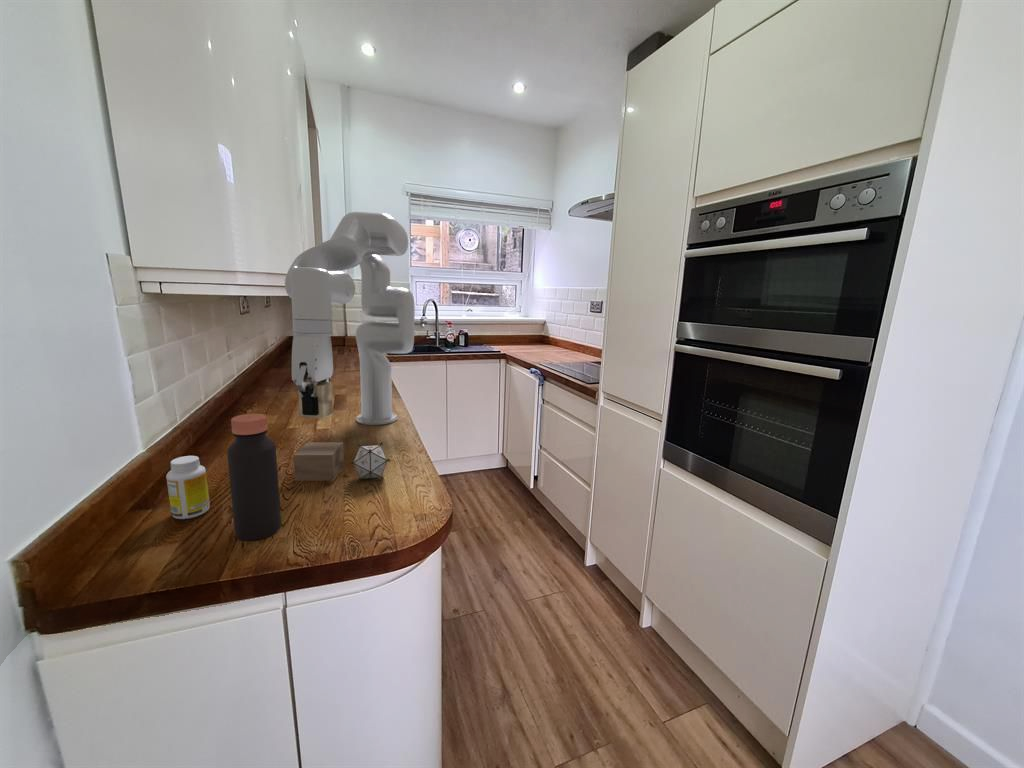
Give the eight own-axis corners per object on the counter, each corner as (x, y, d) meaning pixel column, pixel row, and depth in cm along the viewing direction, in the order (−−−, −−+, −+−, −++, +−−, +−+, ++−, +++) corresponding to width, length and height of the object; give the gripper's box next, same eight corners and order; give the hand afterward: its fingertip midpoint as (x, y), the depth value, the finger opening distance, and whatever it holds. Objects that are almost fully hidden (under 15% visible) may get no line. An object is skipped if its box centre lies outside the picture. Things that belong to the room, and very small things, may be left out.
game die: (375, 497, 92) (374, 474, 85) (342, 479, 93) (339, 456, 86) (398, 466, 98) (399, 443, 91) (366, 450, 99) (365, 425, 92)
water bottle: (286, 531, 71) (279, 418, 67) (240, 546, 66) (229, 426, 62) (274, 515, 76) (266, 409, 72) (230, 529, 71) (219, 416, 67)
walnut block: (308, 466, 98) (307, 442, 97) (343, 466, 99) (343, 442, 97) (295, 481, 90) (293, 455, 89) (333, 480, 91) (332, 455, 90)
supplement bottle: (215, 504, 79) (210, 453, 77) (201, 519, 73) (195, 464, 71) (181, 506, 77) (174, 454, 75) (164, 522, 72) (157, 466, 70)
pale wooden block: (310, 411, 94) (309, 381, 92) (332, 412, 94) (331, 382, 92) (299, 417, 89) (297, 385, 87) (323, 418, 89) (321, 386, 88)
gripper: (313, 325, 96) (316, 402, 99) (272, 329, 79) (278, 421, 83) (346, 326, 96) (348, 403, 100) (312, 331, 79) (316, 423, 83)
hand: (316, 410), depth 91 cm, fingers closed on pale wooden block, 5 cm apart
